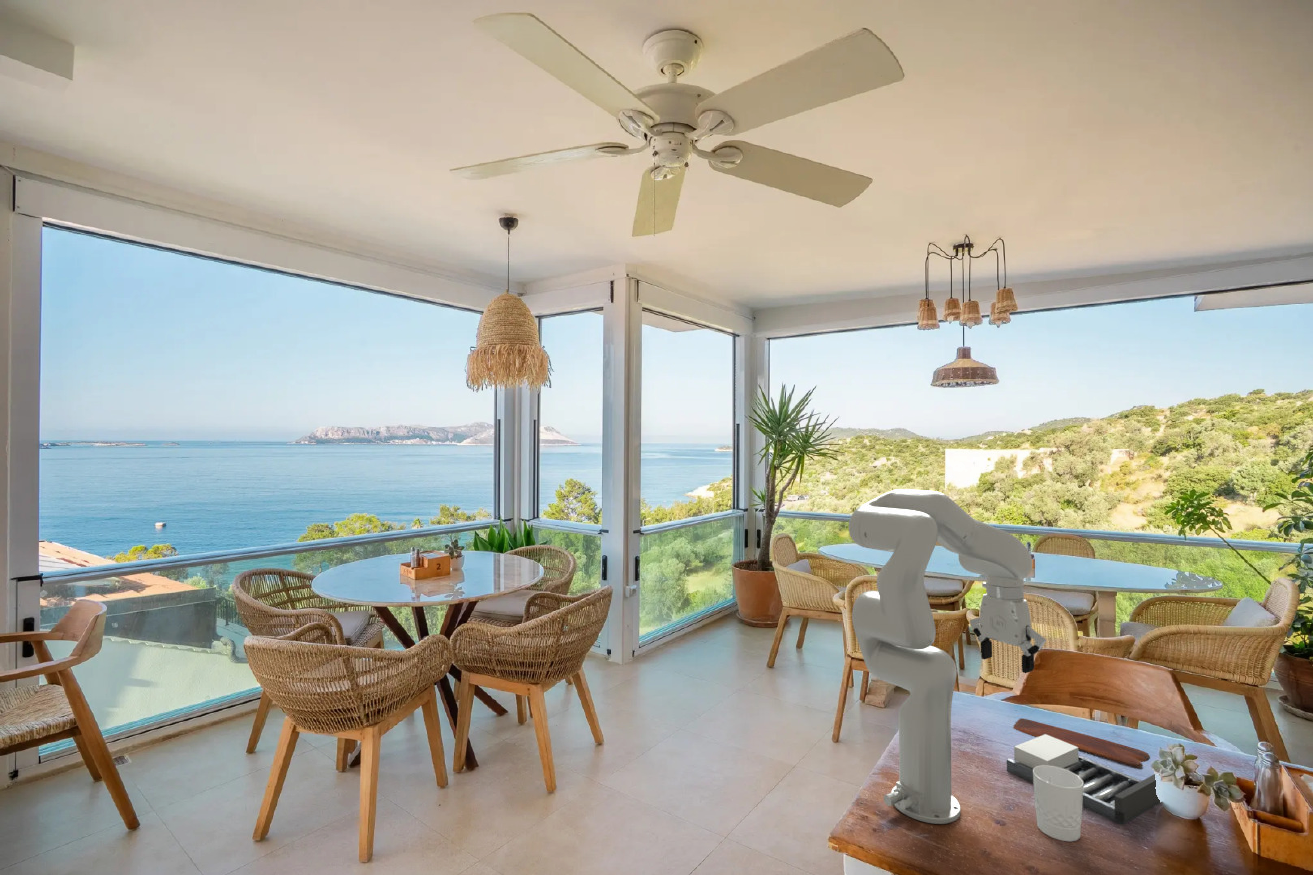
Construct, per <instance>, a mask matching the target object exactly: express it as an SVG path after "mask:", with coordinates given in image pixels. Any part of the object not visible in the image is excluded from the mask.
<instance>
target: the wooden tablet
mask: <svg viewBox="0 0 1313 875" xmlns="http://www.w3.org/2000/svg"><path fill="white" fill-rule="evenodd" d="M1015 723H1016V724H1015ZM1015 723H1014V725H1013V729H1014V730H1016V731H1018V732H1021V733H1023V734H1025V735H1028V736H1032V737H1035V738H1037V737H1039V736H1042V735H1044V734H1046V735H1049V736H1051V737H1054V738H1056V739H1059V740H1061V741H1064V742H1066V743H1069V744H1071V745H1074V746H1076V747H1078V751H1083V752H1085V753H1088V754H1092V755H1094V756H1098V757H1100V758H1104V759H1105V760H1106V759H1107V760H1109V761H1112V762H1113V761H1114V762H1115V763H1119V764H1122V765H1125V766H1128V767H1131V768H1132V767H1133V768H1136V769H1141V768H1142V767H1143V763H1144V762H1147V761H1149V758H1150V754H1148V752H1146V751H1144V750H1141V749H1139V748H1134V747H1131V746H1129V745H1128V746H1127V745H1123V744H1120V743H1117V742H1113V741H1111V740H1108V739H1103V738H1099V737H1096V736H1092V735H1088V734H1085V733H1080V732H1077V731H1073V730H1070V729H1066V728H1061V727H1057V726H1055V725H1051V724H1047V723H1044V722H1043V723H1042V722H1038V721H1035V720H1032V719H1029V718H1028V719H1027V718H1019V719H1018V720H1017V721H1015Z"/></svg>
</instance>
